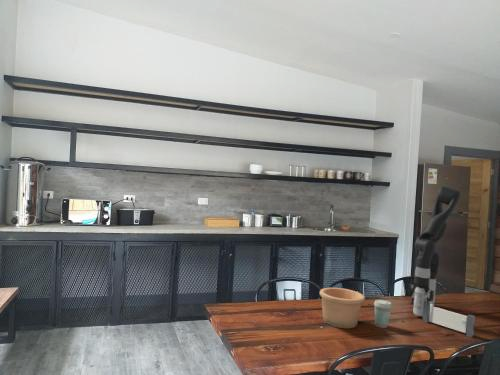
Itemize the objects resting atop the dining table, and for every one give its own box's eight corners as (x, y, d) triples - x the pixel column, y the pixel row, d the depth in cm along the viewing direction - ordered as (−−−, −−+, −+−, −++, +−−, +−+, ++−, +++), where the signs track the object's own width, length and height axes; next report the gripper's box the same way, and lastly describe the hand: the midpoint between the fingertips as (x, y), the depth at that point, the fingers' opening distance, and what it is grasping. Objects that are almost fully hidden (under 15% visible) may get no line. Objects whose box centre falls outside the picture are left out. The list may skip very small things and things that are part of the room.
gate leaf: (428, 321, 198) (429, 304, 198) (429, 320, 199) (431, 303, 199) (465, 333, 185) (466, 314, 185) (466, 332, 186) (468, 314, 186)
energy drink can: (427, 316, 204) (429, 289, 204) (417, 316, 203) (419, 288, 203) (420, 312, 210) (422, 285, 210) (410, 312, 209) (412, 285, 209)
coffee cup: (381, 330, 183) (383, 305, 183) (368, 323, 191) (370, 299, 190) (394, 328, 187) (396, 303, 187) (380, 321, 195) (382, 298, 194)
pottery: (314, 324, 183) (316, 295, 183) (321, 311, 204) (323, 285, 203) (360, 334, 175) (363, 303, 175) (363, 319, 196) (365, 292, 196)
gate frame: (422, 321, 200) (423, 302, 200) (424, 320, 202) (425, 302, 202) (471, 337, 182) (473, 316, 182) (473, 336, 184) (475, 316, 184)
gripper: (406, 273, 210) (403, 303, 210) (432, 279, 199) (430, 311, 199) (412, 272, 214) (410, 301, 215) (438, 278, 204) (436, 309, 204)
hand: (419, 306), depth 207 cm, fingers closed on energy drink can, 6 cm apart
